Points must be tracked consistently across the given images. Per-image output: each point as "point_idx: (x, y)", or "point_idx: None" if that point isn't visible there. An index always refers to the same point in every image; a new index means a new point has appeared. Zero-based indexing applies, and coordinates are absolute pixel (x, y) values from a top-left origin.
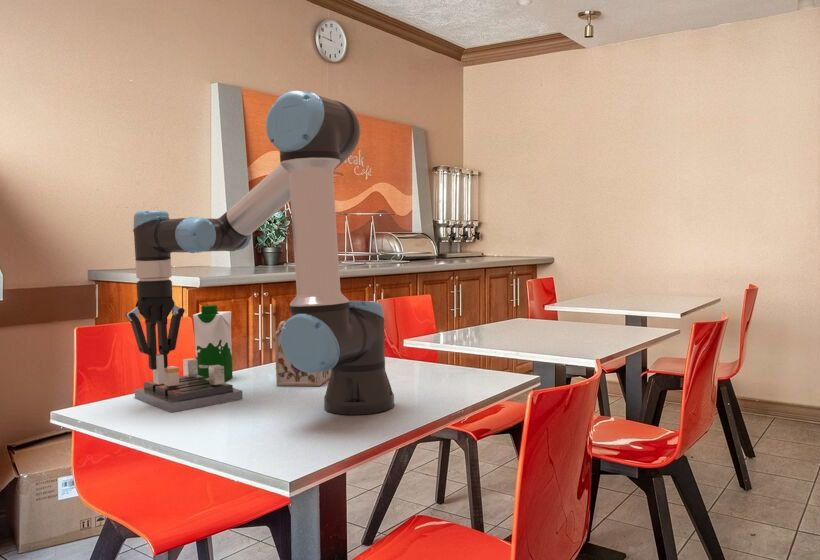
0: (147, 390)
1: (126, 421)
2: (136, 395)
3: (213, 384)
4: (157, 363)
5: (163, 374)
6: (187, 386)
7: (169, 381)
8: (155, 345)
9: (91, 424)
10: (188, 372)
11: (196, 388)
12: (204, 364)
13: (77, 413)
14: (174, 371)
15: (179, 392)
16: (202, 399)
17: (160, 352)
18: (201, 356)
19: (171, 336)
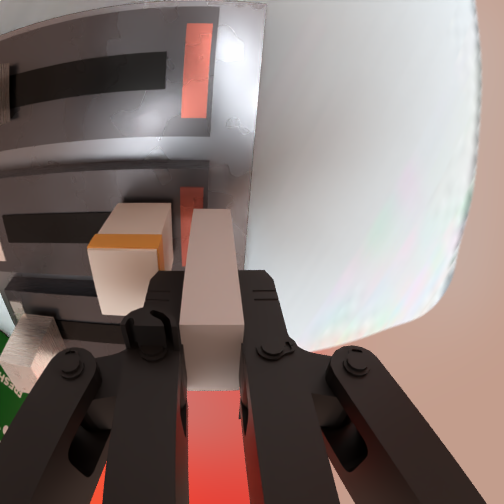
0: None
1: (421, 48)
2: None
3: (8, 77)
4: (238, 278)
5: (196, 232)
6: (91, 170)
7: (164, 213)
8: (264, 415)
9: (479, 117)
10: (46, 329)
11: (84, 69)
12: (4, 386)
13: (428, 268)
14: (121, 238)
15: (193, 35)
16: (108, 7)
17: (184, 378)
18: (4, 411)
19: (55, 479)
